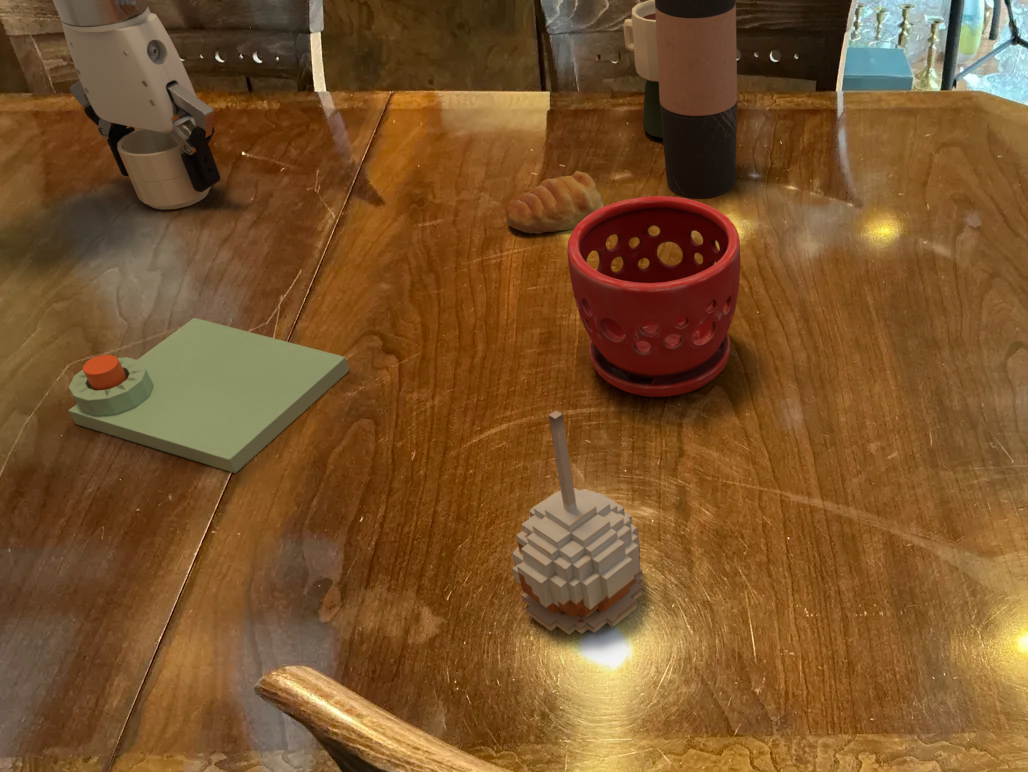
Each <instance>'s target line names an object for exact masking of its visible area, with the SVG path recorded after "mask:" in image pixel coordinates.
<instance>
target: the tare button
mask: <svg viewBox="0 0 1028 772" xmlns="http://www.w3.org/2000/svg"><path fill="white" fill-rule="evenodd" d="M118 358H119V357H117V356H115V355H113V354H101V355H97V356H95V357H92V358H90V359H88V360H87V361H86V362H85V363H84V364H83V365H82V370H83V372H84V373H85V375H86V377H87V379H88V381H89V383H90V385H91V387H92V388H93V389H94V390H96V391H98V390H108V389H111V388H113V387H116V386H119V385H120V384H121V383H123V382H124V381H125V380H127V376H126V374H125V372H124V370H123V368H122V366H121V364H120V362H119V360H118Z"/></svg>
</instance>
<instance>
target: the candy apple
mask: <svg viewBox="0 0 1028 772" xmlns="http://www.w3.org/2000/svg"><path fill="white" fill-rule="evenodd" d="M548 421H549V427H550V432H551V433H550V434H551V440H552V445H553V451H554V457H555V463H556V464H555V465H556V468H557V476H558V481H559V486H560V490H557V491H556V492H554V493H552V494H550V496H548V497H547V498H545V499H543V500H542V501H540V502H539V503H537V504H536V505H534V506H533V507H531V508H530V510H528V512H529V516H528V517H527V520H525V521H524V522H522V523H521V528H522V530H521V531H520V532H519V533H517V534H516V535H515V537H516V540H517V541H516V542H517V547H516V548H515V549H514V551H513V552H511V555H512V560H513V563H514V566H513V567H512V573H513V578H514V581H515V582H516V583H518V584H519V585H520V586H521V591H522V594H521V595H520V596H521V600H522V602H523V603H525V605H528V606H527V607H525V608H526V609H525V610H526V614H527V615H528V616H529V617H531V618H532V619H534V620H535V621H536V622H538V623H539V624H540V625H542V626H543V627H545V628H546V629H547V630H548V631H550V632H552V631H553V630H554V629H556V628H557V627H558V628H559V629H560V630H562V631H563V632H565V633H566V634H568V635H571V634H573V632H574V631H577V632H578V633H580V634H581V635H582V634H583V633H585V632H586V631H587V630H589V631H590V632H592V633H593V634H595V633H596V632H598V631H599V630H600V629H601V628H602V627H603V626H605V625H606V624H607V625H609V626H610V627H612V628H614V627H616V625H617V624H619V623H620V622H621V621H622V620H624V619H625V618H626V617H627V616H628V615H630V614H631V613H632V612H633V611H635V610H636V609H637V608H638V601H637V599H638V598H640V597H641V596H642V595H644V588H643V587H642V586H643V585H644V582H643V578H642V577H643V576H644V574H643V569H641V544H640V535H639V527H637V526H636V525H634V524H633V517H632V514H630V513H628V512H626V511H625V507H624V506H623V505H621V504H620V503H618V502H616V501H614V500H613V499H611V498H609V496H606V495H605V494H603V493H601V492H598V493H597V492H596V491H594V490H593V489H592V490H588V489H587V488H583V489H580V490H579V489H578V488H576V487H574V481H573V474H572V473H573V472H572V467H571V461H570V454H569V447H568V442H567V441H568V440H567V435H566V428H565V421H564V415H563V413H562V412H560V411H558V410H556V409H555V410H554V411H552V412H551V413H549V414H548Z"/></svg>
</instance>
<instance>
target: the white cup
mask: <svg viewBox="0 0 1028 772" xmlns="http://www.w3.org/2000/svg"><path fill="white" fill-rule="evenodd" d="M180 130H181V131H182V132H183V133H184V134H185V135H186V137H187V138H189V136H190V134H191V131H190V130H189V129H188V128H187V127H186V126H183V127H182V128H180ZM117 149H118V152H119V154H120V156H121V159H122V161H123V163H124V166H125V168H126V170H127V173H128V174H129V177H128V178H129V180H130V182H131V184H132V186H133V189H134V191H135V193H136V196H137V198H138V200H139V201H141V202H142V203H143V204H145V205H147V206H148V207H151V208H153V209H155V210H156V209H158V210H176V209H177V210H178V209H183V208H186V207H189V206H193V205H194V204H196V203H198V202H201V201H202V200H204V199H205V198H206V197H207V196H208V194H209V193H210V190H211V188H212V187H213V185H212V186H211V187H209V188H208V189H206V190H205V191H203V192H197V191H195V189H194V188H193V185H192V183H191V180H190V178H189V175H188V173H187V170H186V167H185V165H184V162H183V160H182V156H181V154H183V153H185V151H184V150H183V149H182V148H181V147H180V146H179V145H178V144H177V143H176V142H175V141H174V139H173V138H172V137H171V136H170V135H169V134H168V133H162V132H156V131H151V130H145V129H140V128H137V129H135V131H133V132H131V133H129V134H127V135H125V136H124V137H122V139H121V140H120V141H119V142H118V143H117Z"/></svg>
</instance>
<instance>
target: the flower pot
mask: <svg viewBox="0 0 1028 772" xmlns="http://www.w3.org/2000/svg"><path fill="white" fill-rule="evenodd" d="M651 227H657V228H658V229H659V233H658V234H657V235H652V234H650V232H649V228H651ZM693 232H697V233H698V234H699V235H700V236H701V239H702V243H701V244H699V243H697V242H696V241H695V240H694V239H693V236H692V233H693ZM613 235H615V236H616V237H617V241H616V244H615V245H614V246H613V247H612V248H608V247H607V241H608V239H609V238H610V237H611V236H613ZM634 238H637V239H638V240H639V243H638V244H637V245H636V246H634V247H633V246H630V241H631V240H632V239H634ZM567 241H568V242H567V248H566V252H567V253H566V254H567V262H568V263H567V264H568V271H569V276H570V283H571V287H572V288H571V289H572V292H573V297H574V301H575V306H576V308H577V311H578V312H577V313H578V314H579V317H580V320H581V322H582V326H583V327H584V329H585V331H586V333H587V335H588V336H589V338H590V342H589V346H588V354H589V359H590V362H591V364H592V366H593V368H594V370H595V371H596V372H597V374H598V375H599V376H600V377H601V378H602V379H603V380H604V381H605V382H607V383H608V384H610V385H611V386H613V387H615V388H617V389H619V390H621V391H623V392H626V393H629V394H633V395H637V396H642V397H649V398H650V397H651V398H663V397H665V398H666V397H673V396H679V395H683V394H688V393H690V392H693V391H696V390H699V389H700V388H702V387H704V386H706V385H707V384H709V383H710V382H711V381H713V380H714V379H716V377H717V376H719V374H720V373H721V372H722V371H723V370H724V369H725V367H726V365H727V364H728V361H729V359H730V355H731V347H732V346H731V338H730V335H729V333H728V332H729V330H730V327H731V325H732V322H733V319H734V316H735V312H736V307H737V305H738V304H737V303H738V298H739V288H740V276H741V239H740V235H739V232H738V229H737V227H736V225H735V224H734V223H733V222H732V221H731V219H730V218H729V217H728V216H727V215H725V214H724V213H723V212H721V211H720V210H719V209H716V208H714V207H712V206H710V205H708V204H706V203H703V202H699V201H696V200H693V199H689V198H687V197H679V196H668V195H652V196H650V195H649V196H640V197H634V198H627V199H624V200H620V201H615V202H613V203H610V204H607V205H605V206H604V207H602V208H600V209H598V210H596V211H594V212H593V213H591V214H589V215H588V216H586V217H585V218H584V219H583V220H581V221H580V222H579V223H578V224H577V226H576V227H575V228H573V229H572V231H571V233H570V234H569V238H568V240H567ZM716 242H717V243H716ZM665 243H674V244H675V245H677V246H678V247H679V249H680V250H681V254H682V257H681V260H680V261H679V262H678V263H677V264H667V263H665V262H663V261H662V260H661V259H660V257H659V254H658V248H659V247H660V245H662V244H665ZM717 245H718V246H717ZM592 252H596V253H597V255H598V265H597V268H596V269H594V268H593V267H592V266H590V265H589V263H588V257H589V255H590V254H591V253H592ZM696 254H699V255H700V256H701V257H702V262H701V263H699V262H698V261H697V259H696V258H695V257H696ZM619 257H620V258H621V259H622V266H621V268H620V269H619V270H618V271H613V269H612V263H613V261H614V260H615V259H616V258H619ZM642 259H647V261H648V266H646V267H643V268H641V267H640V265H639V262H640V261H641V260H642Z"/></svg>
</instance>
